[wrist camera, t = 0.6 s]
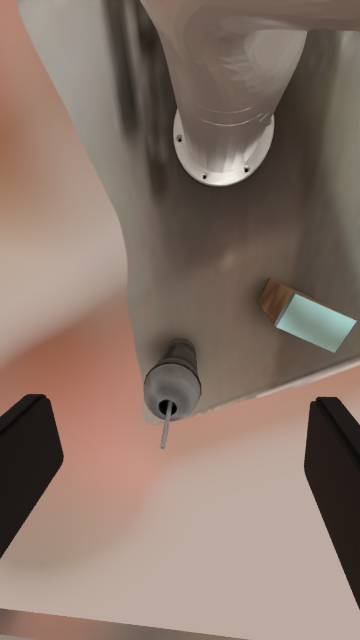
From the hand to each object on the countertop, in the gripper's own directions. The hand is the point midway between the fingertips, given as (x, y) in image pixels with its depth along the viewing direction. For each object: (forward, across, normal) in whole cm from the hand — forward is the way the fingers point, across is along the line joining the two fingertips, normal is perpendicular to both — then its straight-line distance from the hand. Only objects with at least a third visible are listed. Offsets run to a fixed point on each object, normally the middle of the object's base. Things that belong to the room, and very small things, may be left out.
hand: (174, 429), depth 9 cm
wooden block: (+32, -12, +3) cm, 34 cm away
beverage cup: (+32, +4, +11) cm, 34 cm away
